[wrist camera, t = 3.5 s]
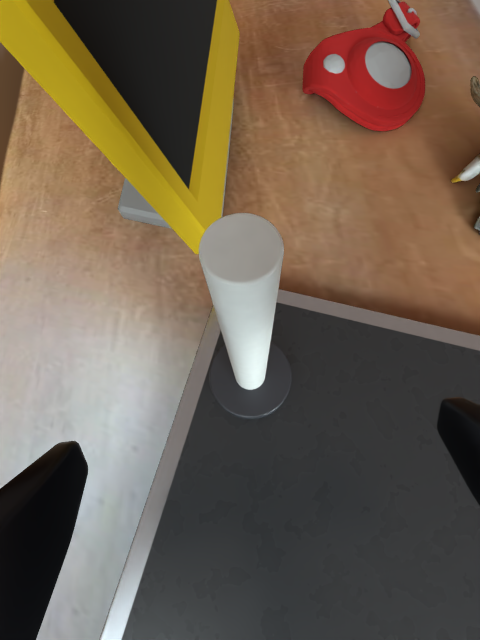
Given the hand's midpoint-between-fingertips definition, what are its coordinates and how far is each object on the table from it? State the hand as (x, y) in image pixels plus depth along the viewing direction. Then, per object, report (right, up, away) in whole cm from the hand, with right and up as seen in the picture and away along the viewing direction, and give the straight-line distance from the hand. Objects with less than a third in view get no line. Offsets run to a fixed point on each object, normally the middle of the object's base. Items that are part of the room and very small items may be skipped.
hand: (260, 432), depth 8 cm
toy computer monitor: (-5, +15, +18) cm, 24 cm away
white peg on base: (0, -1, +10) cm, 10 cm away
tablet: (+4, -8, +8) cm, 12 cm away
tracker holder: (+11, +23, +20) cm, 32 cm away
